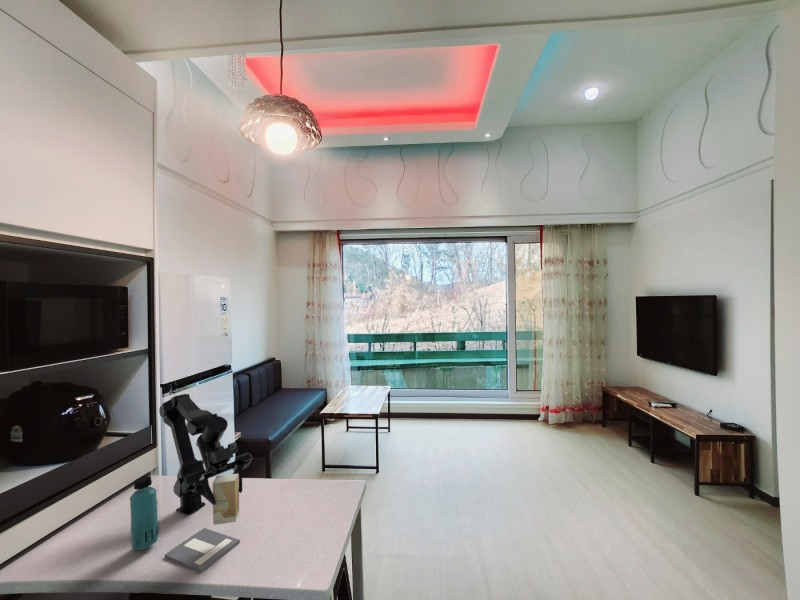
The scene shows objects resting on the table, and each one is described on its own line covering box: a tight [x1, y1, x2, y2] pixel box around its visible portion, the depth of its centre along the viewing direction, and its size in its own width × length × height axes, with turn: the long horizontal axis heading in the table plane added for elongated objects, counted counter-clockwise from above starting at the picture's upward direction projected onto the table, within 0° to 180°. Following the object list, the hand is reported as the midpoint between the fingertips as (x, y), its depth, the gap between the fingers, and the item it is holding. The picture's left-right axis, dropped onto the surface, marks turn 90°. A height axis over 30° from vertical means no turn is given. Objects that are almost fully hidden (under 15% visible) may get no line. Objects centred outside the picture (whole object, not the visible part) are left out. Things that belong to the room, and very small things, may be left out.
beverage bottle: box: [129, 475, 159, 551], centre depth 99 cm, size 6×7×20 cm
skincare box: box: [212, 473, 240, 526], centre depth 101 cm, size 6×4×12 cm
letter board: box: [163, 527, 241, 574], centre depth 98 cm, size 15×12×1 cm
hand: (228, 498), depth 100 cm, fingers closed on skincare box, 7 cm apart
